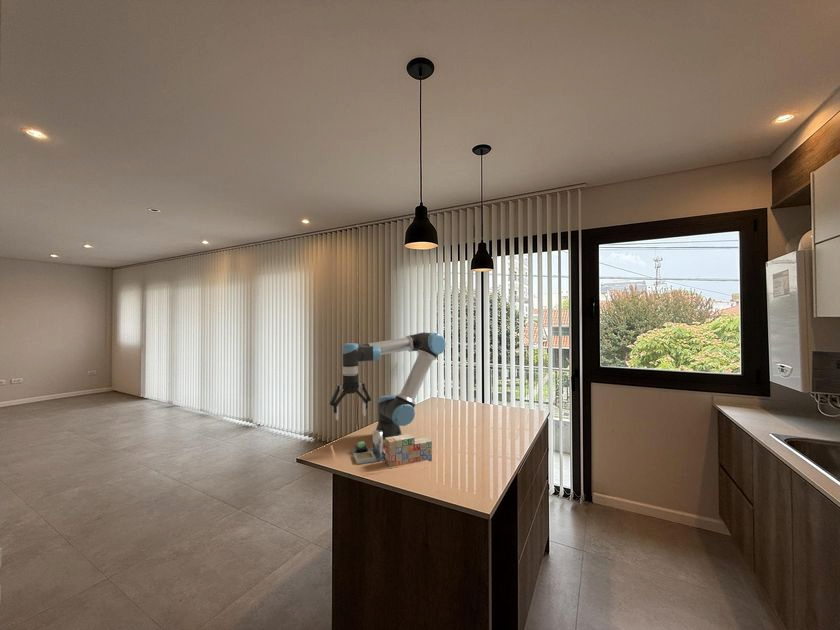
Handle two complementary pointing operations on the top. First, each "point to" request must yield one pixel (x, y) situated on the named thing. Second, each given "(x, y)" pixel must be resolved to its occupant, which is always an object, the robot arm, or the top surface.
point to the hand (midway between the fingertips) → (350, 417)
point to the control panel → (367, 456)
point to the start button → (360, 445)
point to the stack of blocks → (407, 450)
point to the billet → (377, 441)
